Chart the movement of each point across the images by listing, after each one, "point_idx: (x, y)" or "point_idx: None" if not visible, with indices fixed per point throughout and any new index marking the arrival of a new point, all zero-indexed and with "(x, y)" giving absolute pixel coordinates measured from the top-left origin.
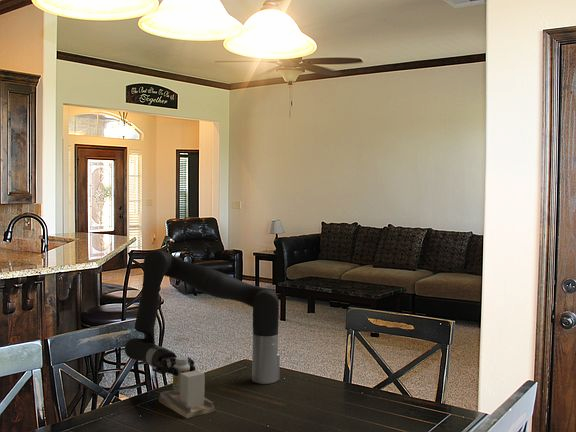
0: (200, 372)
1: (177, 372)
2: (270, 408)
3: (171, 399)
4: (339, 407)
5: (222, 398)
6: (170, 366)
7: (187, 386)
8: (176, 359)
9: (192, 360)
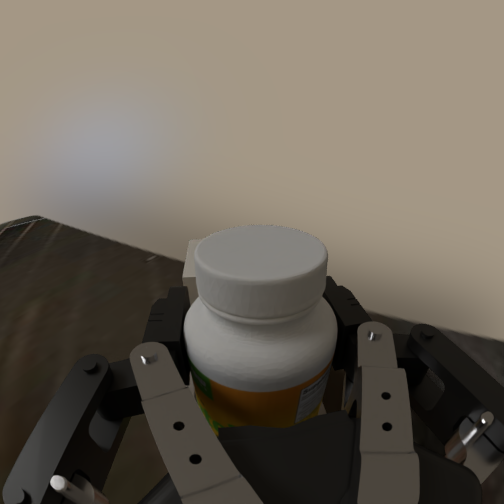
0: (192, 253)
1: None
2: (69, 300)
3: (323, 410)
4: (18, 263)
5: None
6: (366, 323)
7: None
8: (322, 245)
9: (63, 389)
